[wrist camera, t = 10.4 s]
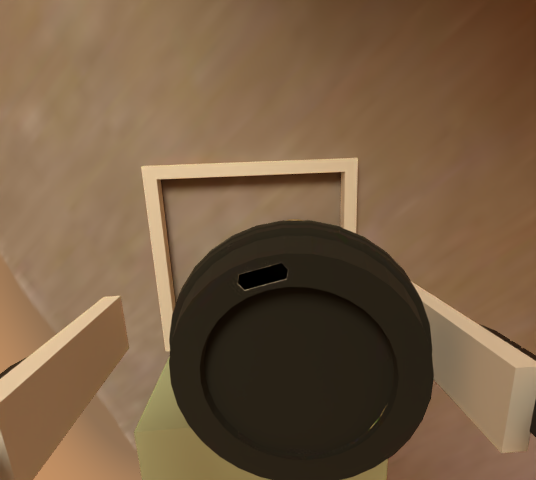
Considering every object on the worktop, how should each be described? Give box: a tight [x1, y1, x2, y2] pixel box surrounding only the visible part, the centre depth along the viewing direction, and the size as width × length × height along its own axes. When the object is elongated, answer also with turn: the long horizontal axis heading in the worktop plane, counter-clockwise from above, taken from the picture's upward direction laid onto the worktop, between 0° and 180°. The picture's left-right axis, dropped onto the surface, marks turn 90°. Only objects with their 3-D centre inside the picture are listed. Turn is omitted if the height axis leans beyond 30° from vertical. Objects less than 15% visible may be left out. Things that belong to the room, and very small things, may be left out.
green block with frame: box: [134, 158, 388, 480], centre depth 21 cm, size 25×16×8 cm, turn 2°
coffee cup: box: [169, 220, 434, 480], centre depth 16 cm, size 10×10×15 cm
